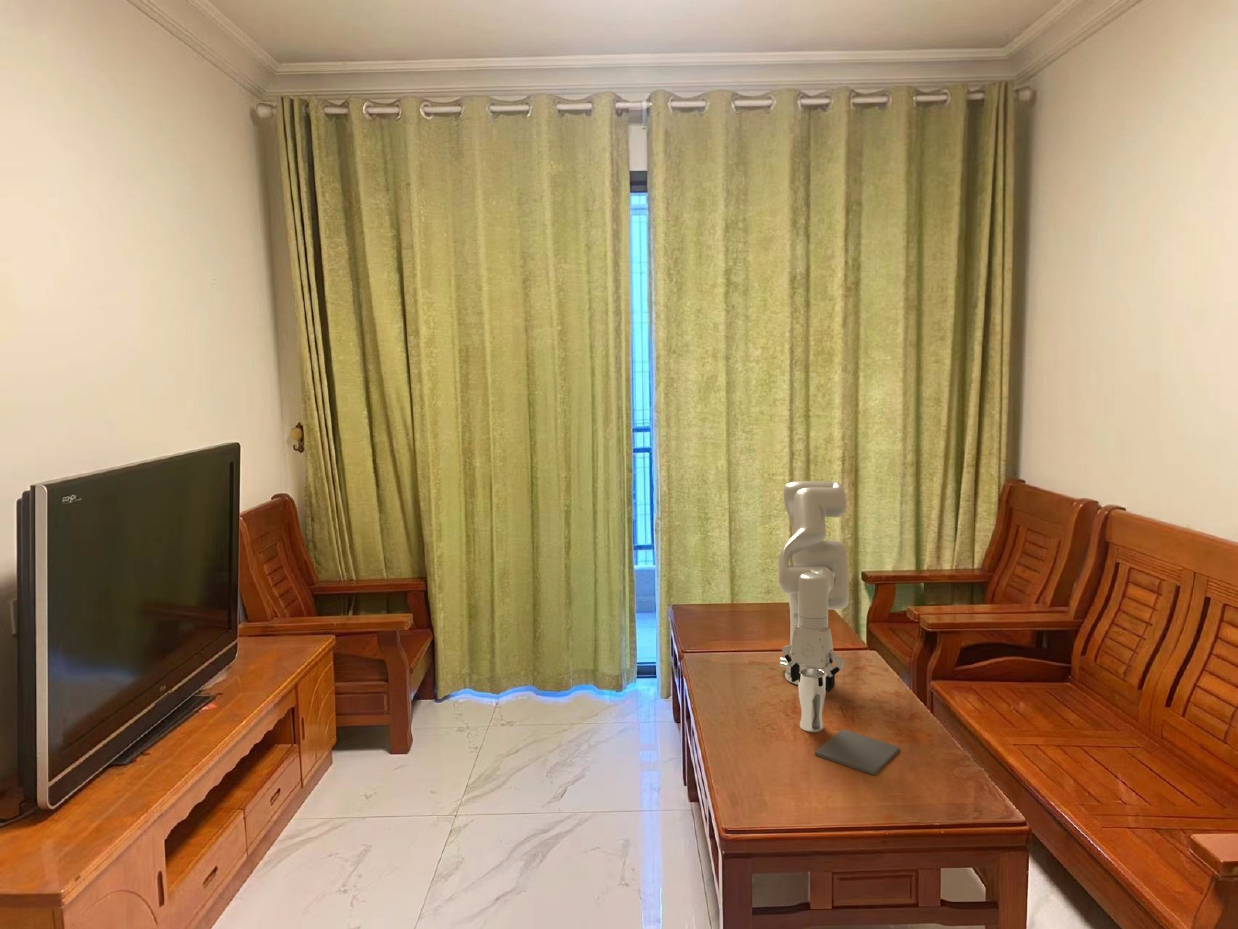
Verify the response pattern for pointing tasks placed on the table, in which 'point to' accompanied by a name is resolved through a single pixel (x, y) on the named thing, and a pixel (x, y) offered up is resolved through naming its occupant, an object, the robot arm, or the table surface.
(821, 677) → the beer glass
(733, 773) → the table surface
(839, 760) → the charcoal mat
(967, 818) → the table surface
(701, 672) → the table surface
